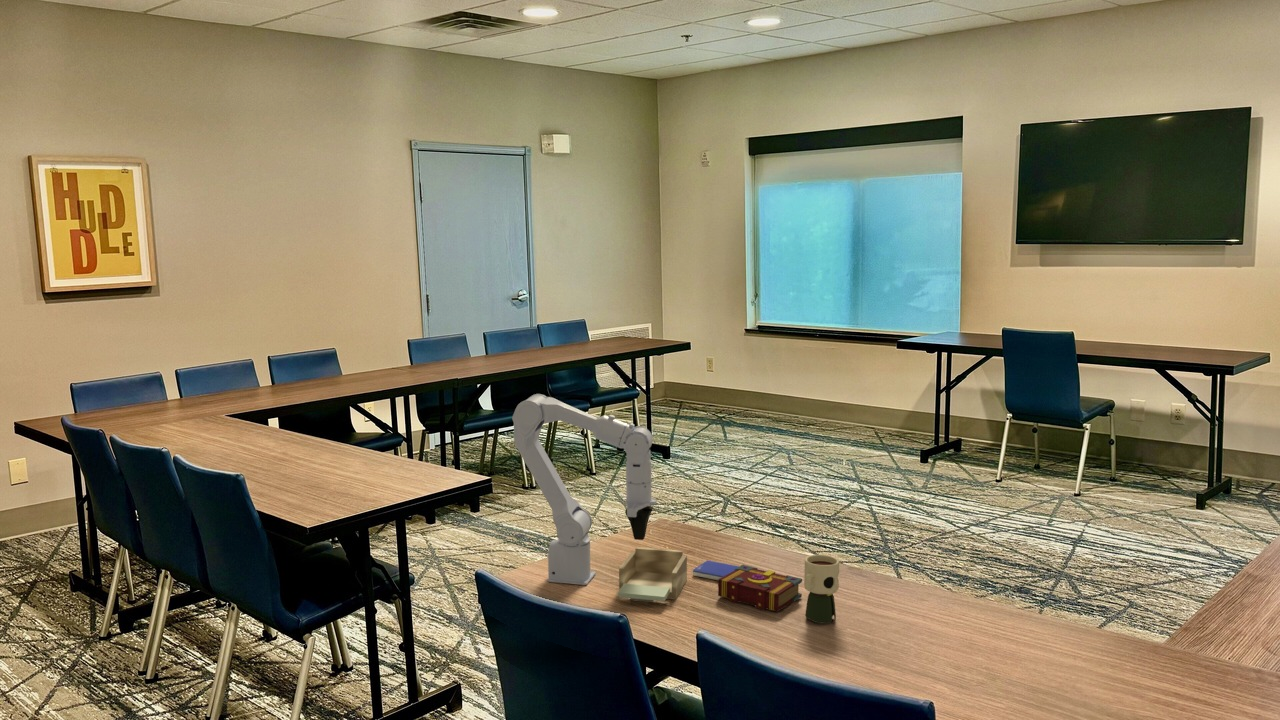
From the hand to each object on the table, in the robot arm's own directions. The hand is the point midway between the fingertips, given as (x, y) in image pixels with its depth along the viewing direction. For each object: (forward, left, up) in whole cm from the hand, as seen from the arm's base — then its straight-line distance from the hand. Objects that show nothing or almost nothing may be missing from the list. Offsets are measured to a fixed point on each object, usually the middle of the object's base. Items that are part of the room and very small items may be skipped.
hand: (639, 538), depth 225 cm
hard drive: (+18, +9, -11) cm, 23 cm away
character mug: (+42, -12, -11) cm, 45 cm away
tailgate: (+4, -9, -9) cm, 13 cm away
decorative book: (+27, -3, -11) cm, 30 cm away
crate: (+4, -2, -10) cm, 11 cm away
